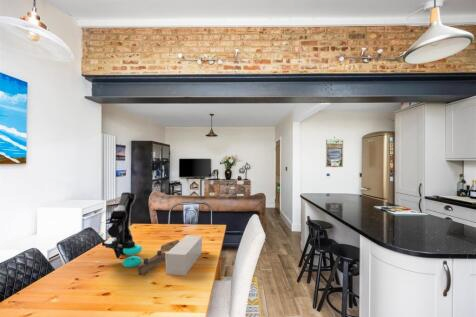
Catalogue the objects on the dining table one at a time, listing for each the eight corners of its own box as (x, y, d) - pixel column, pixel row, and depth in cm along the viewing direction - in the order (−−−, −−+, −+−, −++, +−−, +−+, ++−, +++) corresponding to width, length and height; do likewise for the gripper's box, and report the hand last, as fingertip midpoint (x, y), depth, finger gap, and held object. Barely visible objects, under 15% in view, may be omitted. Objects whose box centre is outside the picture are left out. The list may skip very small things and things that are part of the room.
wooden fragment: (168, 253, 158) (168, 251, 158) (153, 251, 161) (153, 249, 161) (186, 241, 183) (186, 239, 183) (172, 239, 186) (172, 238, 186)
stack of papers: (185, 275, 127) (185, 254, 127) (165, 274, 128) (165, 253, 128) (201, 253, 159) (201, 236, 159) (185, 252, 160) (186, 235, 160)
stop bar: (138, 275, 126) (138, 261, 126) (160, 260, 145) (161, 248, 146) (142, 275, 125) (143, 262, 126) (165, 261, 145) (165, 249, 145)
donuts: (141, 243, 146) (142, 248, 137) (141, 259, 146) (142, 266, 137) (123, 245, 142) (122, 250, 133) (122, 262, 142) (122, 269, 133)
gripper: (94, 233, 138) (93, 261, 137) (121, 236, 132) (120, 265, 132) (109, 228, 148) (109, 254, 148) (135, 231, 143) (135, 258, 143)
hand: (118, 258), depth 142 cm, fingers closed
